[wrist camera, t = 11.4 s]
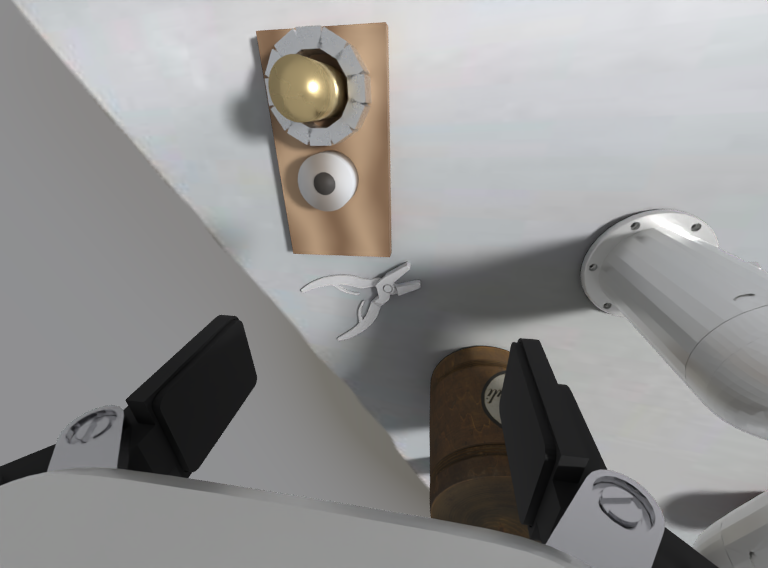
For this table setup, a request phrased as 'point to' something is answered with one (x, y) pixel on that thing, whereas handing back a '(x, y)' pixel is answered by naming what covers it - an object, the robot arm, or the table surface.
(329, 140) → the ring
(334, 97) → the brass peg
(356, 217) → the fitting board
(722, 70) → the table surface
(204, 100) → the table surface
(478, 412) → the wooden container
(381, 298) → the pliers
